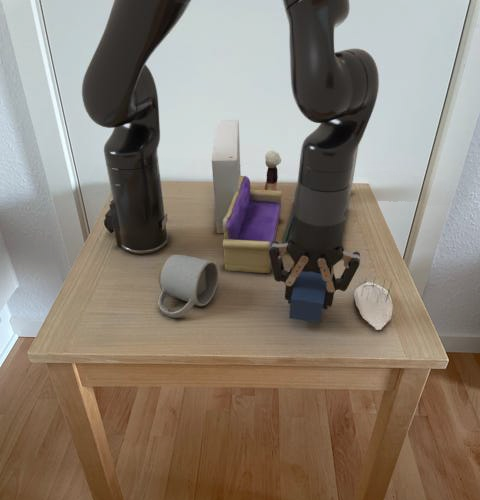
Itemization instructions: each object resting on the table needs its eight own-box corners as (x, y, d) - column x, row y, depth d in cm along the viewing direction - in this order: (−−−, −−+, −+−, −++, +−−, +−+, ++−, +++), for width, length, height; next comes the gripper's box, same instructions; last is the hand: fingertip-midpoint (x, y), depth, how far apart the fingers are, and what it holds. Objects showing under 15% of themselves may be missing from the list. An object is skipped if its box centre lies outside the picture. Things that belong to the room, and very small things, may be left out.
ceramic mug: (180, 277, 90) (176, 242, 85) (219, 289, 87) (218, 253, 82) (147, 312, 83) (141, 276, 78) (190, 326, 80) (186, 289, 75)
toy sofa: (269, 276, 90) (271, 227, 83) (223, 272, 91) (220, 223, 85) (281, 219, 106) (284, 174, 99) (242, 216, 107) (241, 171, 100)
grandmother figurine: (261, 198, 113) (263, 144, 104) (278, 198, 113) (281, 144, 104) (261, 215, 107) (262, 159, 99) (278, 215, 107) (282, 159, 99)
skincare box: (218, 187, 117) (216, 119, 107) (241, 187, 117) (241, 119, 107) (214, 233, 101) (211, 159, 91) (240, 234, 101) (240, 159, 91)
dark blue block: (320, 323, 77) (323, 303, 75) (288, 318, 78) (290, 298, 75) (325, 292, 83) (328, 273, 80) (296, 288, 84) (298, 269, 81)
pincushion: (396, 333, 79) (404, 305, 75) (358, 331, 79) (364, 304, 75) (383, 287, 88) (390, 260, 84) (349, 286, 88) (354, 260, 84)
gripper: (372, 203, 71) (353, 296, 82) (274, 192, 73) (269, 283, 84) (371, 230, 65) (350, 325, 76) (265, 216, 68) (260, 311, 79)
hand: (308, 302), depth 80 cm, fingers closed on dark blue block, 5 cm apart
